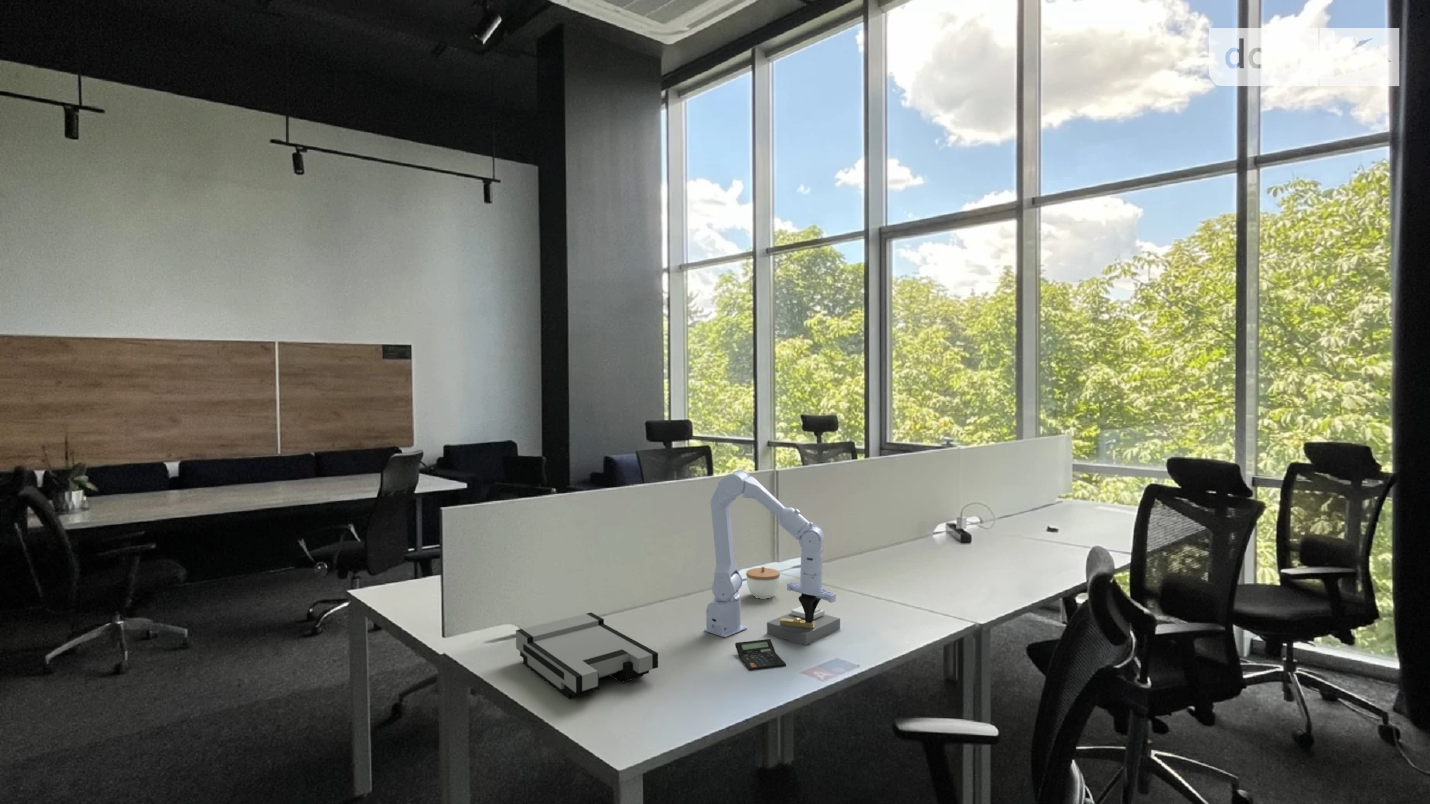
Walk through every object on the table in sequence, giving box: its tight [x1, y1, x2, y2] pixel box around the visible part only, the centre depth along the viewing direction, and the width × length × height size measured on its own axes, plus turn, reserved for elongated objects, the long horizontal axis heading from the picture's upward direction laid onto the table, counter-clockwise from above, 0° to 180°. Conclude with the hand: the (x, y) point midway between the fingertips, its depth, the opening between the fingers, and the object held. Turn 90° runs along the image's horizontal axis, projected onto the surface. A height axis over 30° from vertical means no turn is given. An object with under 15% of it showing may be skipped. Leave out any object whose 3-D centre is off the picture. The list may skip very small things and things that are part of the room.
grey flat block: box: [766, 612, 841, 646], centre depth 191 cm, size 18×13×3 cm
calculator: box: [734, 638, 787, 672], centre depth 173 cm, size 9×12×3 cm
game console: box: [515, 612, 659, 700], centre depth 166 cm, size 21×32×8 cm, turn 38°
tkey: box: [780, 617, 815, 628], centre depth 187 cm, size 9×2×2 cm, turn 71°
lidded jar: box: [745, 566, 781, 600], centre depth 224 cm, size 11×11×9 cm
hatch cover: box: [790, 605, 825, 619], centre depth 196 cm, size 6×7×2 cm
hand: (810, 622), depth 187 cm, fingers closed, pressing on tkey
